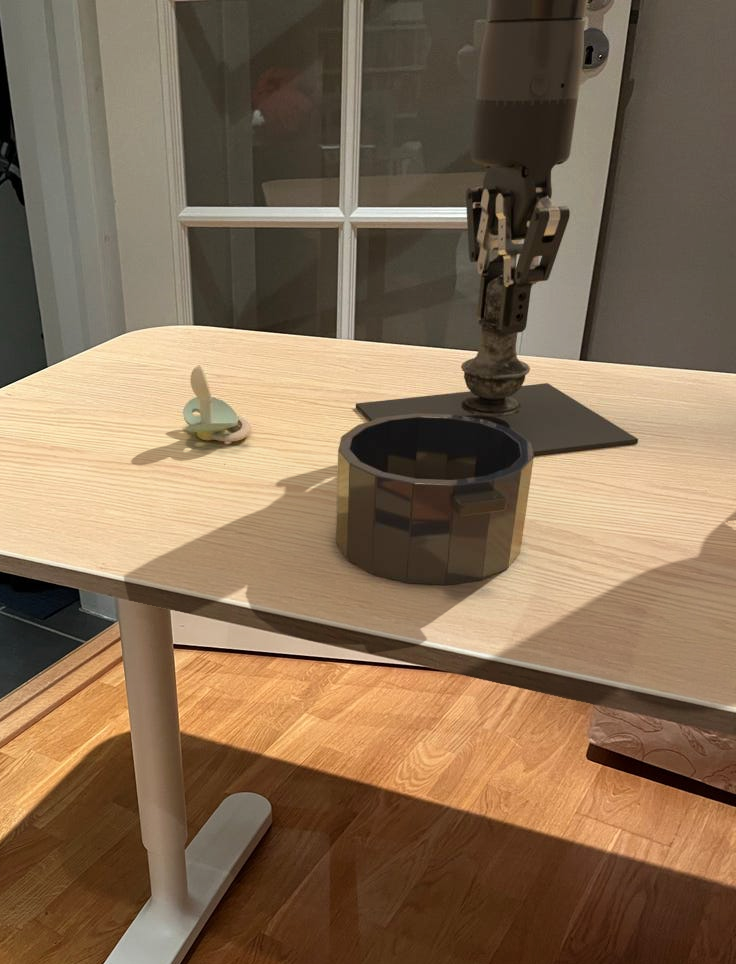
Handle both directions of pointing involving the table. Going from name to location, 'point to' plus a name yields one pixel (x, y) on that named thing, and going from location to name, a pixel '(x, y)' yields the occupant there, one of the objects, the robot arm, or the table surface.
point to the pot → (432, 497)
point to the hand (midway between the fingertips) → (500, 324)
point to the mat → (522, 418)
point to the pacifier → (211, 413)
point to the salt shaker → (494, 364)
